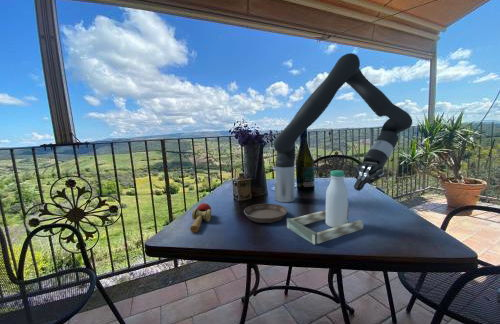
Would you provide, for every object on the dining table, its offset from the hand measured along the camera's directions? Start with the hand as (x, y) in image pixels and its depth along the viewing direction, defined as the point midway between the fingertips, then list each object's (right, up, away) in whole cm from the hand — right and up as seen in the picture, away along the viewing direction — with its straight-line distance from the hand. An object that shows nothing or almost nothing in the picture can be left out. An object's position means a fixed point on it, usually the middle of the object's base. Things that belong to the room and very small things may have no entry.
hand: (356, 189), depth 86 cm
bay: (-14, -13, -5) cm, 20 cm away
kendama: (-60, -14, +4) cm, 61 cm away
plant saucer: (-34, -13, +8) cm, 37 cm away
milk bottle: (-9, -13, -3) cm, 16 cm away
